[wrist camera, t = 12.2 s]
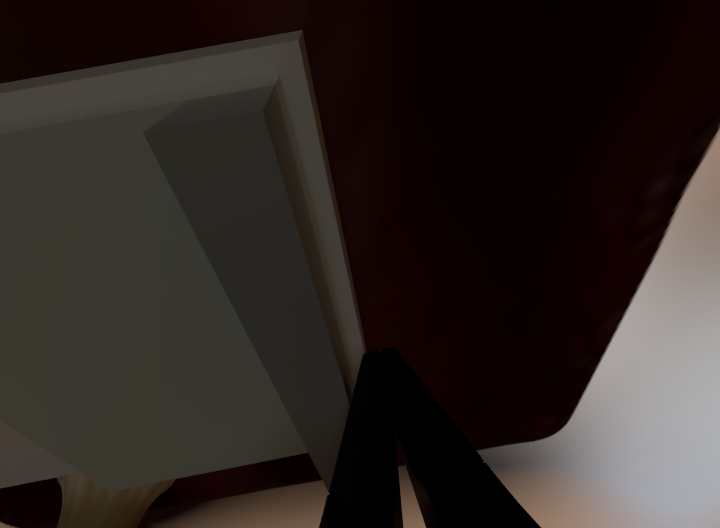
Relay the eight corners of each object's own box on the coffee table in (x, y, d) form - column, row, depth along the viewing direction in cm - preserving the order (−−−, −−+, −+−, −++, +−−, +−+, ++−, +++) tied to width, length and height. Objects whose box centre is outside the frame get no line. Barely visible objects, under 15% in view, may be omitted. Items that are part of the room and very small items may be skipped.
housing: (302, 30, 11) (298, 40, 6) (360, 317, 20) (376, 414, 15) (-363, 148, 11) (-884, 251, 6) (-15, 389, 19) (-121, 511, 15)
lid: (280, 75, 7) (262, 110, 4) (364, 412, 15) (377, 497, 12) (-251, 170, 7) (-608, 269, 4) (124, 459, 14) (84, 555, 12)
